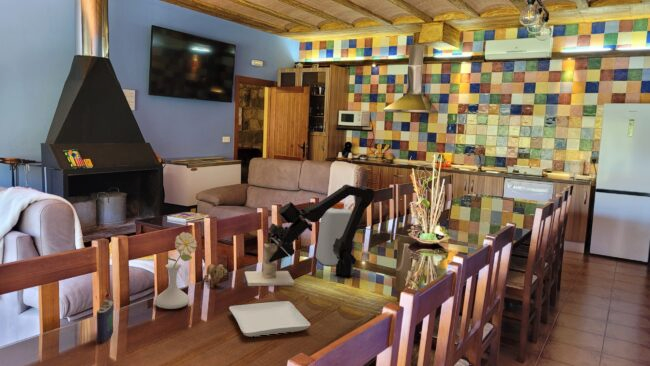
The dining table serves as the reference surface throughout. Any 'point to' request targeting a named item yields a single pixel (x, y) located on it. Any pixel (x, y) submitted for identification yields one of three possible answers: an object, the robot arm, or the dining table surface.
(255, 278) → the platter
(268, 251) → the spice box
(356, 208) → the robot arm
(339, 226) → the plastic bottle
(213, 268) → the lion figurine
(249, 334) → the salad plate
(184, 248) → the flower in vase
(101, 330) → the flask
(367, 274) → the dining table surface
